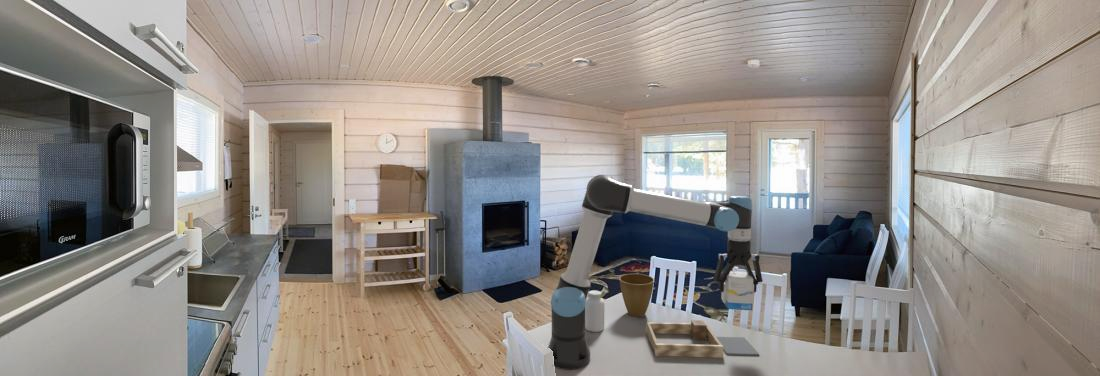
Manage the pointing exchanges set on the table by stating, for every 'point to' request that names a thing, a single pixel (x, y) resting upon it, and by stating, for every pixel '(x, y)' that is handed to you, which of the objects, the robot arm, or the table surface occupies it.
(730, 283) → the ink box
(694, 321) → the walnut block
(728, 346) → the grey mat
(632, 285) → the plant pot
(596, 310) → the white bottle
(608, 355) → the table surface
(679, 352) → the frame
